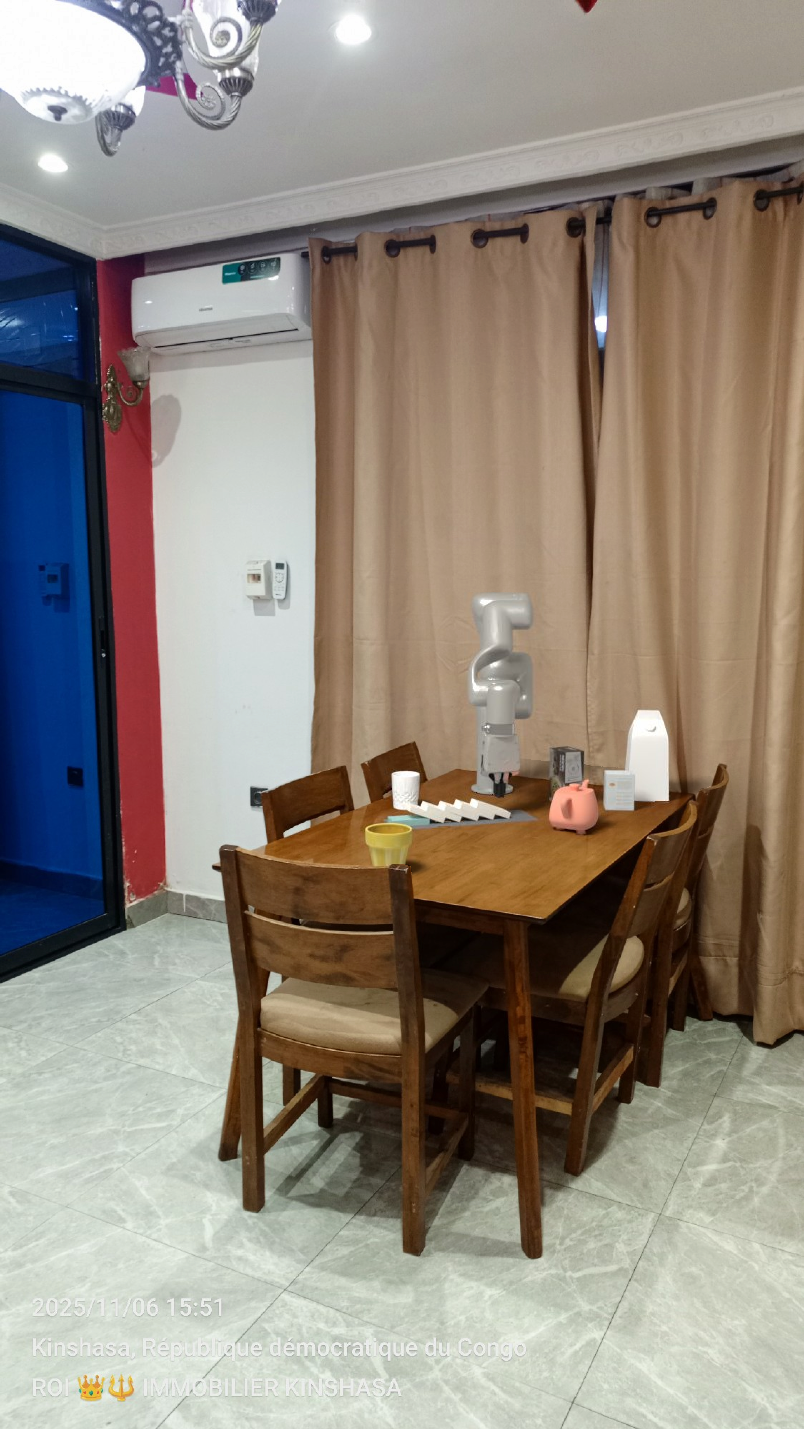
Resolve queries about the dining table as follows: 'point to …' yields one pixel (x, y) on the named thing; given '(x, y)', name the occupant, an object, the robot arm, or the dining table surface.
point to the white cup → (405, 788)
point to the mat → (514, 817)
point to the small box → (619, 790)
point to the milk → (649, 756)
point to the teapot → (574, 808)
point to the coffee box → (565, 768)
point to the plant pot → (388, 843)
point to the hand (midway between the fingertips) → (499, 796)
